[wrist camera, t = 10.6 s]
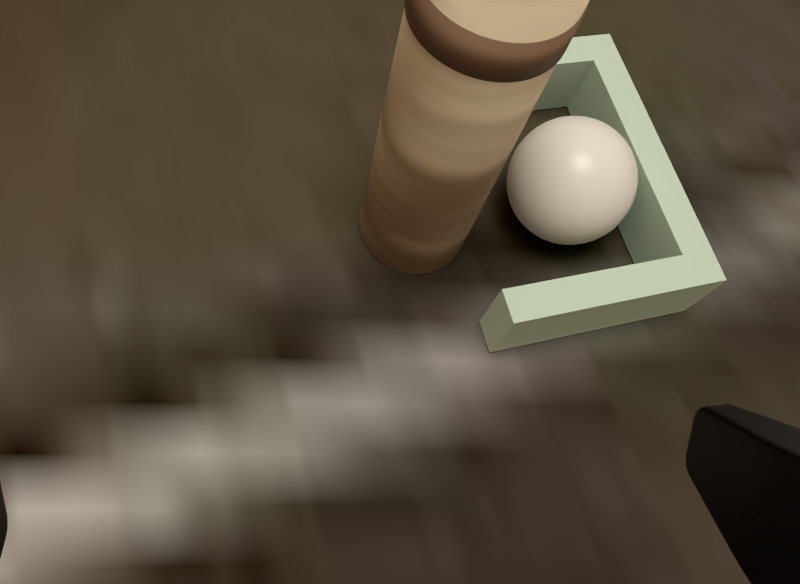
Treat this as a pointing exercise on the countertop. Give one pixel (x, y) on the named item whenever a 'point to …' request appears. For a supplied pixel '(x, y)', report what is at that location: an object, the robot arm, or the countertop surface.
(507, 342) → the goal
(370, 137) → the countertop surface
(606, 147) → the ball
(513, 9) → the player peg
